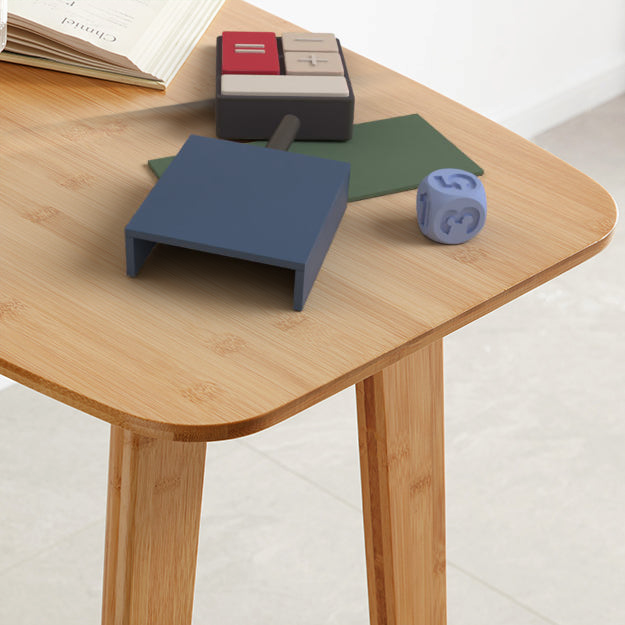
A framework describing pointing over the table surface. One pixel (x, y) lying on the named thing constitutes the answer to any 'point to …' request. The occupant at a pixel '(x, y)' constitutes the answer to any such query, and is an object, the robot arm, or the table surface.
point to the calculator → (282, 85)
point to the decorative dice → (451, 206)
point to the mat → (379, 155)
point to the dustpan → (245, 205)
